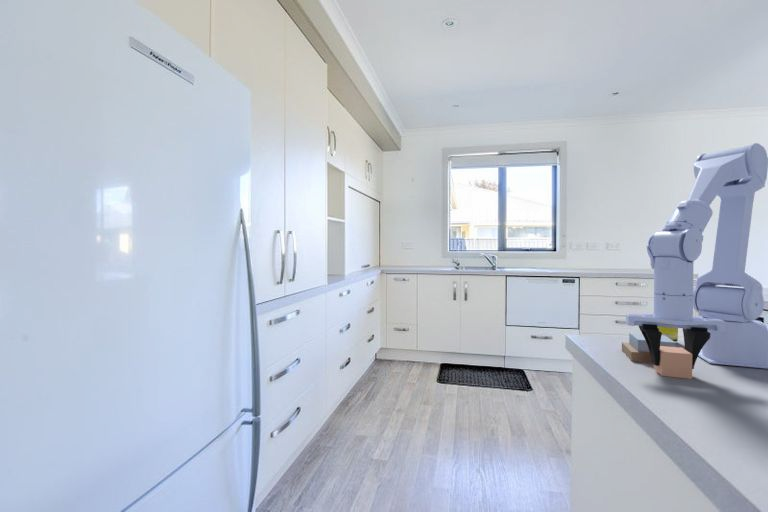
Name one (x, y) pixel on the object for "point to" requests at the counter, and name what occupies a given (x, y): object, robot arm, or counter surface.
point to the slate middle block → (641, 346)
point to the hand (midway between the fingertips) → (672, 365)
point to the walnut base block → (635, 354)
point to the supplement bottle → (669, 332)
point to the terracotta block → (675, 362)
